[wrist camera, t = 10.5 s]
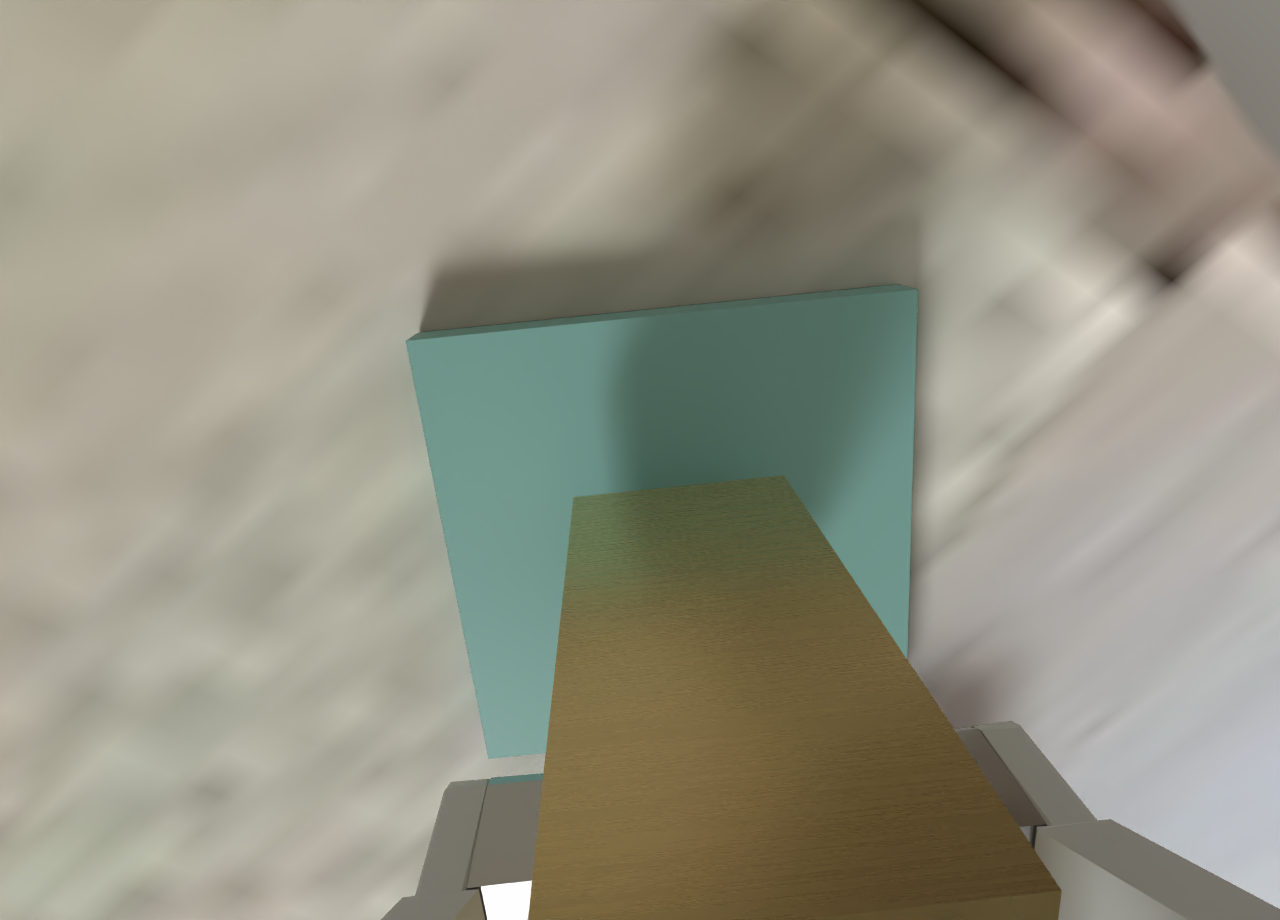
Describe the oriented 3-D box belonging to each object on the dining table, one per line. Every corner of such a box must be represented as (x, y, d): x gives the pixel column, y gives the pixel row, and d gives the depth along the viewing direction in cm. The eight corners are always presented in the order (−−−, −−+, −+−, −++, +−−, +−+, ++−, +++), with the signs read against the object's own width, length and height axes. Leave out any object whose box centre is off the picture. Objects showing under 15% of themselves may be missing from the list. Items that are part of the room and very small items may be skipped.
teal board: (494, 730, 19) (488, 758, 18) (418, 332, 15) (405, 341, 14) (890, 688, 19) (905, 714, 18) (898, 284, 15) (917, 289, 14)
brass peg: (596, 676, 15) (587, 1267, 7) (573, 497, 14) (524, 950, 5) (789, 655, 15) (1022, 1218, 7) (783, 475, 14) (1061, 889, 5)
